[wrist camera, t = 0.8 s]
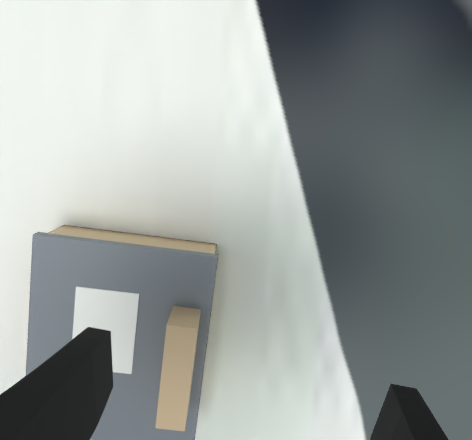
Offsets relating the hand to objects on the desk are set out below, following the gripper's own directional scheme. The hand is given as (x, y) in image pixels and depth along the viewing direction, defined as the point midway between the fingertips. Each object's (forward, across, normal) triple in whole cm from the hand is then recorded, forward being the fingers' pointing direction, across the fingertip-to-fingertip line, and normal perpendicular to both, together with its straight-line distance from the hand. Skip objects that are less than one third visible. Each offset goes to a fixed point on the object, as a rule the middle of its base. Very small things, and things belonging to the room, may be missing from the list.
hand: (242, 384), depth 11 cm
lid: (+11, +8, +10) cm, 17 cm away
